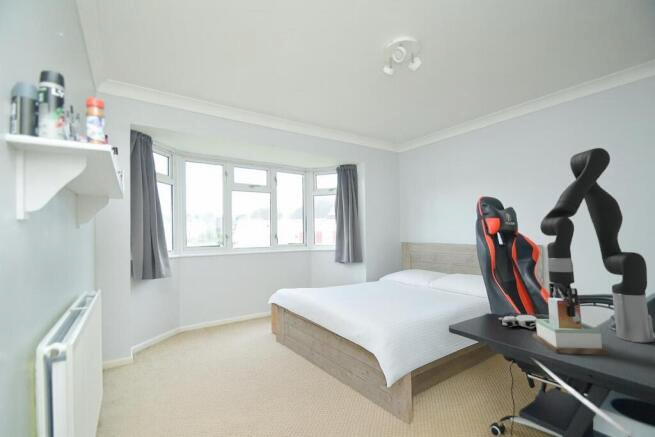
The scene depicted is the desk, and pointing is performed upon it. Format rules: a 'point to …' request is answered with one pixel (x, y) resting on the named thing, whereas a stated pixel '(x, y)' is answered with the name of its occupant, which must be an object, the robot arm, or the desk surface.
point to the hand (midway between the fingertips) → (564, 313)
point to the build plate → (571, 350)
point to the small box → (563, 314)
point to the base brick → (569, 335)
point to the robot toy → (519, 321)
